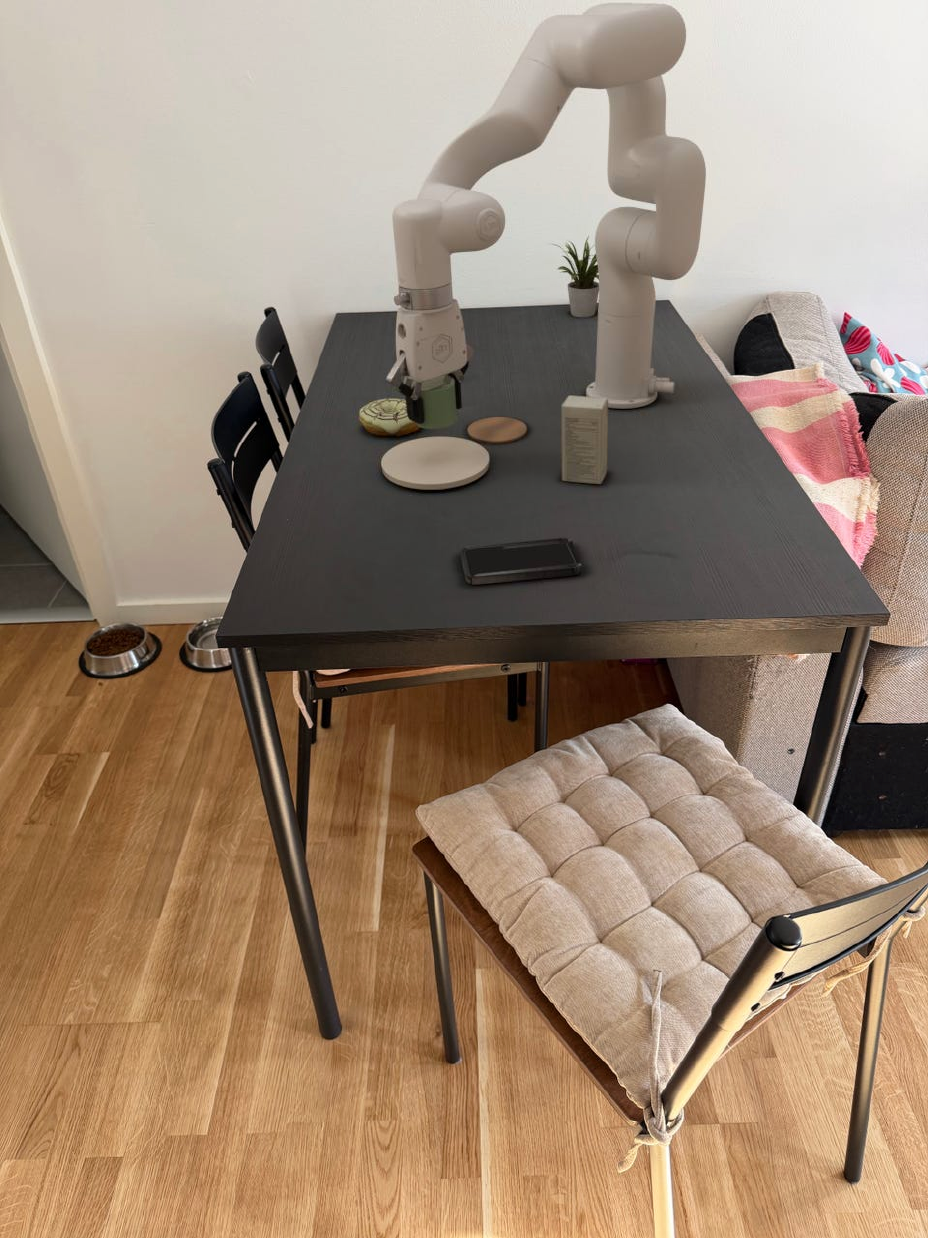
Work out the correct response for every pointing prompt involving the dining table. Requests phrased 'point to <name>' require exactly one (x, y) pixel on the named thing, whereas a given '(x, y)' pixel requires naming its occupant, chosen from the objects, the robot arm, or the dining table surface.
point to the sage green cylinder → (438, 402)
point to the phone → (520, 561)
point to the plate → (435, 463)
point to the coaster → (497, 430)
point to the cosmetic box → (584, 439)
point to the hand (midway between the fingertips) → (435, 412)
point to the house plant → (582, 283)
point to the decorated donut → (387, 417)
